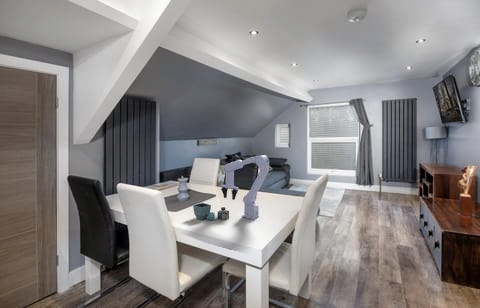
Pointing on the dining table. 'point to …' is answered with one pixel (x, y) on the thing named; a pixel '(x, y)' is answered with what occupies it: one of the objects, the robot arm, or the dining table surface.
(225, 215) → the press pot
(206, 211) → the flower pot
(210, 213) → the teal rounded part
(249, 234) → the dining table surface
